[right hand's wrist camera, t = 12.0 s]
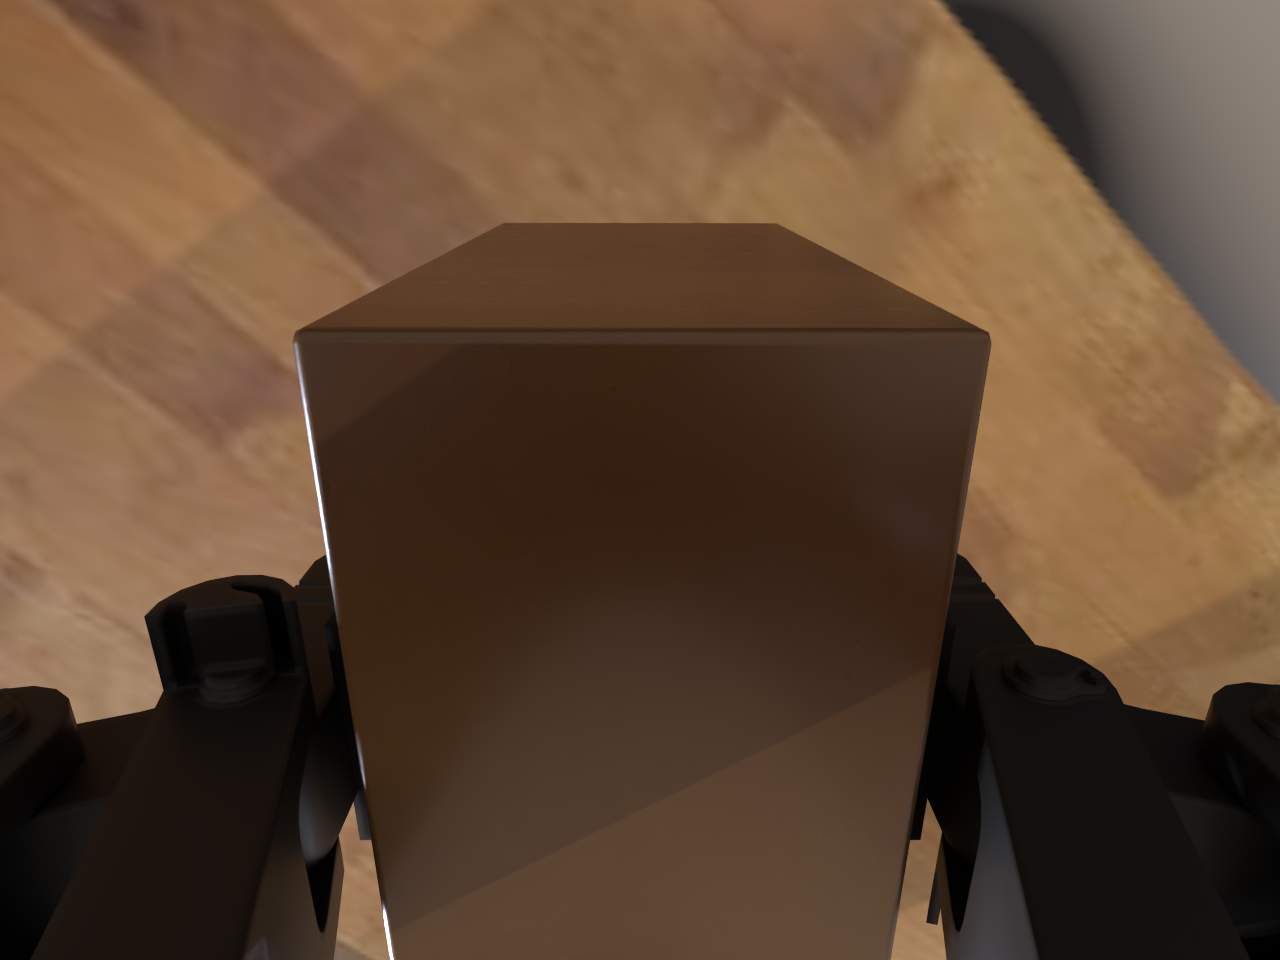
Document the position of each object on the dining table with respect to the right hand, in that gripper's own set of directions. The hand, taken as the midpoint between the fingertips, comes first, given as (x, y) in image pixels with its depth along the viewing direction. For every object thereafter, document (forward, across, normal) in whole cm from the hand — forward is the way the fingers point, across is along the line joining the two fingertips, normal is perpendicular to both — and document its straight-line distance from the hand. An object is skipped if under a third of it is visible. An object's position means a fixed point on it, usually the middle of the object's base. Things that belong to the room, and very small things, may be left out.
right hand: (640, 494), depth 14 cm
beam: (+1, 0, -22) cm, 23 cm away
